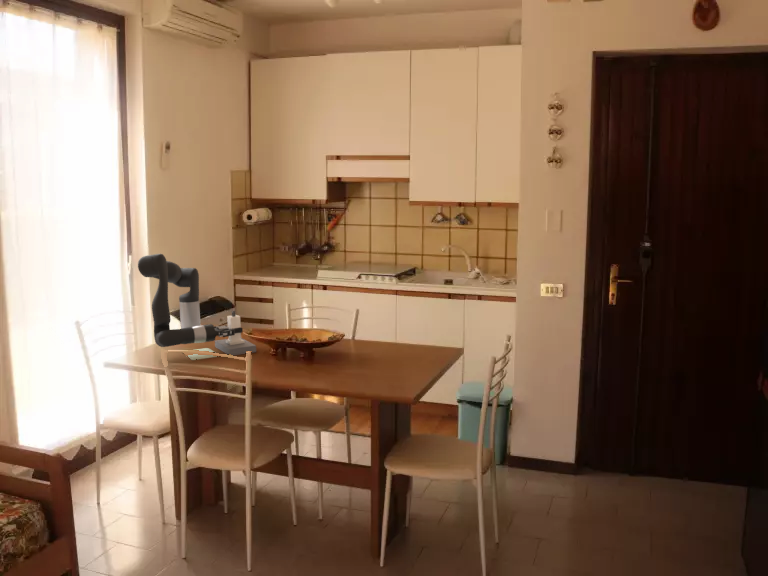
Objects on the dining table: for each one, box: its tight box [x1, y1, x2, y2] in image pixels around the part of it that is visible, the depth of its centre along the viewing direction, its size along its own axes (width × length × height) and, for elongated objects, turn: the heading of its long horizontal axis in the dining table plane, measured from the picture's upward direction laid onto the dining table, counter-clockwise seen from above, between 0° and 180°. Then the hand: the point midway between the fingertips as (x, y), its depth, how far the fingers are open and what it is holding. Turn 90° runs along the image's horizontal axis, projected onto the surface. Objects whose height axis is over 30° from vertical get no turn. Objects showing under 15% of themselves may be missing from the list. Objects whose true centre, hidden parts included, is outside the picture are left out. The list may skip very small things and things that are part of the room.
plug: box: [225, 310, 245, 345], centre depth 345 cm, size 7×7×18 cm
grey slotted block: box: [214, 337, 257, 356], centre depth 346 cm, size 20×12×4 cm, turn 30°
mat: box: [187, 347, 217, 361], centre depth 338 cm, size 16×12×1 cm
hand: (240, 328), depth 346 cm, fingers closed on plug, 4 cm apart
